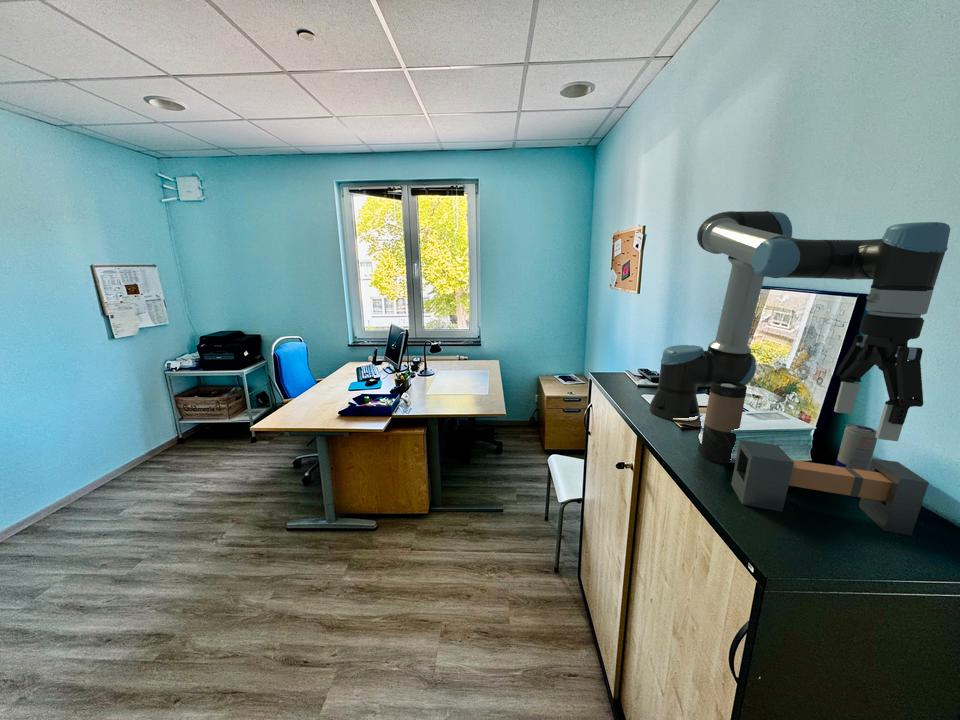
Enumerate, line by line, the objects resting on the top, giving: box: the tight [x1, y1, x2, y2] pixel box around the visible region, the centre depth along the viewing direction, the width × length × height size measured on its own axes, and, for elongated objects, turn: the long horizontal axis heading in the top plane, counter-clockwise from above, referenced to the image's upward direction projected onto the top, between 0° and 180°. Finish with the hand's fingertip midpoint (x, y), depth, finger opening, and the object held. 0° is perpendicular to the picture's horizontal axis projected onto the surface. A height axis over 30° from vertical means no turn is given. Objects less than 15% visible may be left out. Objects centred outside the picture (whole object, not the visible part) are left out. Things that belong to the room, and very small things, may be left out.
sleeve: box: [730, 439, 794, 513], centre depth 80 cm, size 8×7×11 cm
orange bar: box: [788, 459, 893, 502], centre depth 76 cm, size 4×22×4 cm, turn 71°
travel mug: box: [700, 380, 748, 465], centre depth 96 cm, size 8×8×20 cm
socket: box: [858, 457, 930, 537], centre depth 73 cm, size 8×4×11 cm, turn 161°
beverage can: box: [834, 423, 878, 471], centre depth 83 cm, size 5×5×15 cm
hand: (862, 425), depth 72 cm, fingers open, 13 cm apart
